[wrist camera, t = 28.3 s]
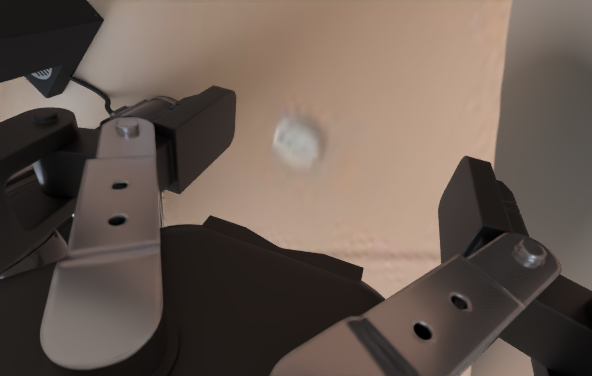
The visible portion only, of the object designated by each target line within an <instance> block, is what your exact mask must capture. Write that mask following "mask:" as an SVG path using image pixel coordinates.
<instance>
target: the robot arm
mask: <svg viewBox="0 0 592 376" xmlns="http://www.w3.org/2000/svg"><path fill="white" fill-rule="evenodd" d="M68 79H70V80H72V81H74V82H76V83H78V84H80V85H82V86H84V87H86V88H88V89H90V90H92V91H94V92H95V93H97V94H98V95H100V96H101V97H102V98H103V99H104V100H105V109H106V111H107V112H108V114H109V115H110V116H111V117H109V118H107V119H105V120H103V121H102V122H100V127H98V128H96V129H88V128H79V127H78V126H77V122H76V118H75V115H74V113H73V112H71V111H69V110H66V109H62V108H38V109H33V110H29V111H26V112H24V113H21V114H19V115H17V116H14V117H12V118H10V119H7V120H5V121H3V122H0V376H460V375H461V374H462V373H463V372H464V371H465V370H466V369H467V368H468V367H469V366H470V365H471V364H472V363H473V362H474V361H475V360H476V359H477V358H478V357H479V356H480V355H481V354H482V353H483V352H484V351H485V350H486V349H487V348H488V347H489V346H490V345H491V344H492V343H493V342H494V341H495V340H496V339H497V338H498V337H499V338H501V339H502V340H504V341H506V342H507V343H509V344H510V345H512V346H513V347H515V348H517V349H518V350H520V351H521V352H523V353H525V354H526V355H528V356H530V357H531V362H532V367H533V372H534V376H592V291H591V290H589V289H587V288H585V287H583V286H581V285H579V284H577V283H575V282H573V281H571V280H569V279H567V278H566V277H564V276H562V275H560V273H561V270H562V268H561V264H560V262H559V260H558V259H557V257H556V256H555V255H554V254H553V253H552V252H551V251H550V250H549V249H548V248H547V247H545V246H544V245H542V244H541V243H539V242H538V241H536V240H534V239H532V238H530V237H529V234H528V232H527V229H526V227H525V224H524V221H523V219H522V217H521V214H519V213H520V211H519V209H518V206H517V205H516V204H517V203H516V201H515V198H514V195H513V193H512V192H511V191H510V190H509V188H508V187H507V186H506V185H505V184H504V183H503V182H501V181H498V180H496V178H495V175H494V172H493V169H492V166H491V163H490V162H487V161H483V160H479V159H476V158H472V157H469V156H464V157H463V158H462V160H461V161H460V163H459V165H458V166H457V168H456V170H455V172H454V174H453V176H452V178H451V180H450V182H449V183H448V185H447V187H446V189H445V191H444V193H443V195H442V197H441V200H440V203H439V208H438V217H439V233H440V249H441V264H440V265H439V266H437V267H436V268H434V269H433V270H431V271H430V272H428V273H426V274H425V275H423V276H422V277H420V278H419V279H417V280H415V281H414V282H412V283H411V284H409V285H408V286H406V287H405V288H403V289H401V290H400V291H398V292H397V293H395V294H394V295H392V296H391V297H389V298H387V299H385V298H384V297H383V296H381V295H380V294H379V293H378V292H377V291H376V290H375V289H373V288H372V287H370V286H369V285H368V284H366V283H365V282H363V281H361V279H362V273H363V267H360V266H357V265H354V264H351V263H348V262H345V261H342V260H339V259H336V258H333V257H330V256H328V255H325V254H319V253H312V252H304V251H297V250H290V249H284V248H280V247H278V246H276V245H274V244H273V243H271V242H269V241H268V240H266V239H264V238H263V237H261V236H259V235H258V234H256V233H254V232H253V231H251V230H249V229H248V228H246V227H243V226H240V225H237V224H234V223H231V222H228V221H225V220H223V219H220V218H217V217H214V216H211V215H210V216H209V217H208V219H207V220H206V221H205V222H204V223H203V225H192V224H185V225H174V226H167V227H164V217H163V204H162V194H161V193H162V192H163V191H164V190H168V191H171V192H174V193H177V194H181V193H182V192H183V191H184V190H185V189H186V188H187V187H188V186H189V185H190V184H191V183H192V182H193V181H194V180H195V179H196V178H197V177H198V176H199V175H200V174H201V173H202V172H203V171H204V170H205V169H206V168H207V167H208V166H209V165H211V164H212V163H213V162H214V161H215V160H216V159H217V158H218V157H219V156H220V155H221V154H222V153H223V152H224V151H225V150H226V149H227V148H228V147H229V146H230V144H231V142H232V140H233V137H234V132H235V113H236V94H235V92H234V91H232V90H229V89H225V88H222V87H218V86H212V87H210V88H208V89H207V90H205V91H203V92H202V93H200V94H198V95H194V96H190V97H186V98H183V99H182V100H180V101H178V102H177V101H175V100H173V99H171V98H168V97H156V98H153V99H151V100H149V101H148V100H144V101H142V102H140V103H137V104H135V105H133V106H131V107H126V106H123V107H121V108H119V109H117V110H115V111H112V110H111V108H110V104H111V102H110V99H109V98H108V97H107V96H106V95H105V94H104V93H103V92H101V91H100V90H98V89H97V88H95V87H93V86H92V85H90V84H88V83H86V82H83V81H81V80H79V79H77V78H75V77H73V76H69V77H68ZM70 216H72V217H73V222H72V227H71V232H70V236H69V241H68V246H67V244H66V242H65V240H64V239H63V237H62V236H61V235H60V233H59V232H58V231H57V230H56V228H57V227H58V226H59V225H61V224H62V223H63V222H64V221H66V220H67V219H68V218H69V217H70Z"/></svg>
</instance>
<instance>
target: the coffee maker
mask: <svg viewBox="0 0 592 376" xmlns="http://www.w3.org/2000/svg"><path fill="white" fill-rule="evenodd" d="M102 22H103V19H102V17H101V16H100V15H99V14H98V13H97V12H96V11H95V9H94V8H93V7H92V6H91V5H90V4H89V3H88V2H87V0H0V83H1V82H4V81H8V80H11V79H15V78H18V77H22V76H24V77H25V78H26V79H27V80H28V81H29V82H30V83H31V84H32V85H33V86H34V87H36V88H37V89H38V90H39V91H40V92H41V93H42V94H43V95H44V96H45V97H46V98H50V97H53V96H56V95H58V94H61V93H62V92H63V91H64V89H65V87H66V85H67V84H68V82H69V80H70V79H68V77H69V76H72V75H73V73H74V71H75V70H76V68H77V66H78V64H79V63H80V61H81V59H82V57H83V56H84V54H85V52H86V50H87V49H88V47H89V45H90V43H91V42H92V40H93V38H94V36H95V35H96V33H97V31H98V29H99V27H100V26H101V24H102Z"/></svg>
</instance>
